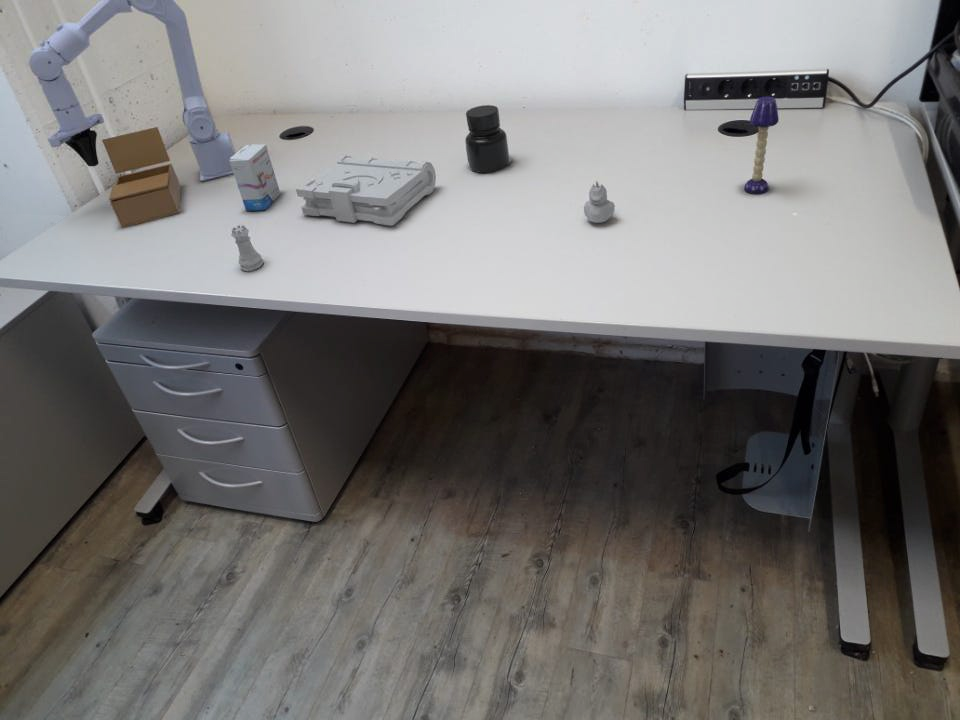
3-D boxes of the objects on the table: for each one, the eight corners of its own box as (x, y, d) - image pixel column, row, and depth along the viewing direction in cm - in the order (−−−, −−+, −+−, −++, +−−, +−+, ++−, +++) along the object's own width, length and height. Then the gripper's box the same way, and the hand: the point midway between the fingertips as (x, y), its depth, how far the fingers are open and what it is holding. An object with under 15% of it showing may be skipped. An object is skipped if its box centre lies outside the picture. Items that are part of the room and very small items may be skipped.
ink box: (266, 211, 162) (248, 158, 155) (245, 211, 163) (226, 160, 156) (282, 193, 168) (265, 142, 161) (262, 194, 170) (244, 143, 162)
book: (336, 177, 171) (328, 145, 167) (441, 187, 159) (435, 152, 154) (282, 216, 158) (271, 182, 154) (392, 230, 146) (383, 194, 141)
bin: (127, 200, 178) (115, 173, 174) (181, 187, 180) (170, 160, 176) (121, 227, 166) (108, 199, 162) (179, 213, 168) (167, 184, 164)
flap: (115, 173, 174) (116, 173, 175) (170, 160, 176) (170, 160, 176) (101, 139, 171) (102, 139, 171) (157, 126, 173) (157, 126, 173)
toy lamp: (773, 184, 138) (782, 94, 128) (769, 196, 135) (778, 104, 125) (746, 183, 140) (752, 94, 130) (741, 194, 137) (748, 103, 127)
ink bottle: (500, 153, 169) (493, 99, 162) (518, 164, 162) (512, 109, 155) (461, 165, 166) (452, 112, 159) (478, 178, 160) (469, 122, 152)
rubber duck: (581, 227, 136) (578, 186, 131) (589, 210, 141) (587, 170, 136) (610, 228, 134) (609, 186, 129) (618, 211, 139) (617, 170, 134)
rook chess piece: (242, 262, 144) (228, 224, 139) (265, 258, 144) (252, 220, 139) (238, 273, 140) (224, 235, 136) (262, 269, 140) (248, 231, 136)
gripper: (75, 95, 171) (102, 152, 179) (26, 118, 160) (57, 178, 168) (99, 94, 168) (125, 152, 176) (51, 118, 158) (80, 178, 166)
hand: (93, 165), depth 172 cm, fingers closed
